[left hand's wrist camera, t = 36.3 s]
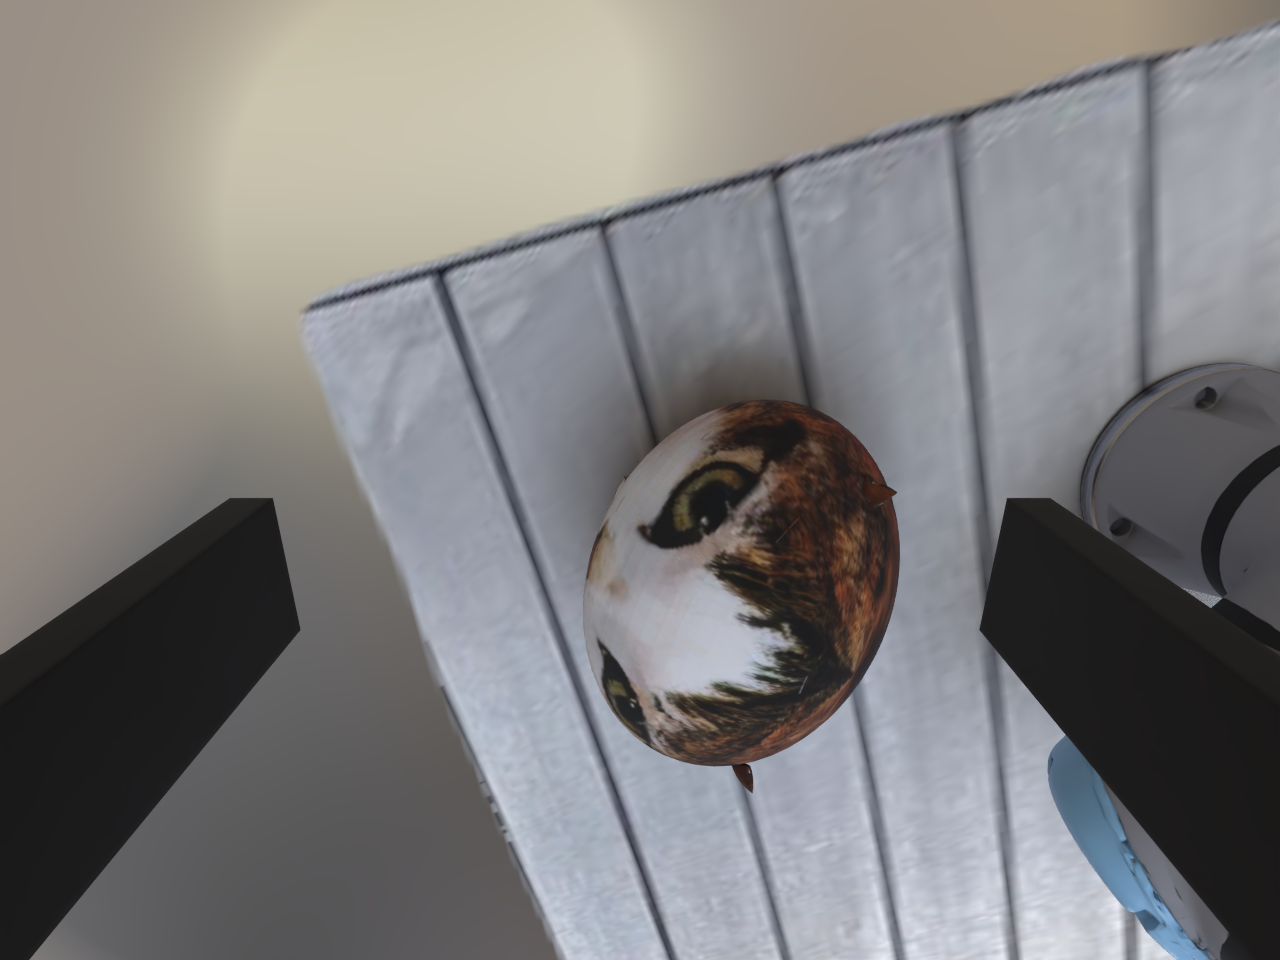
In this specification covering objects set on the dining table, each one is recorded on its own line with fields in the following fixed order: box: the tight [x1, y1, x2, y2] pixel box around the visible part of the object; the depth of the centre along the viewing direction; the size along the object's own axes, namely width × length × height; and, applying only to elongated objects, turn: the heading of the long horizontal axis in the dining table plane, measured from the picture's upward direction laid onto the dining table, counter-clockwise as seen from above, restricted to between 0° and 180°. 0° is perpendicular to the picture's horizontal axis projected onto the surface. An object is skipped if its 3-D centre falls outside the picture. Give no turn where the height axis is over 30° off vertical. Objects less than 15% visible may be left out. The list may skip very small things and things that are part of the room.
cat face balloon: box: [583, 400, 900, 793], centre depth 41 cm, size 22×18×20 cm
